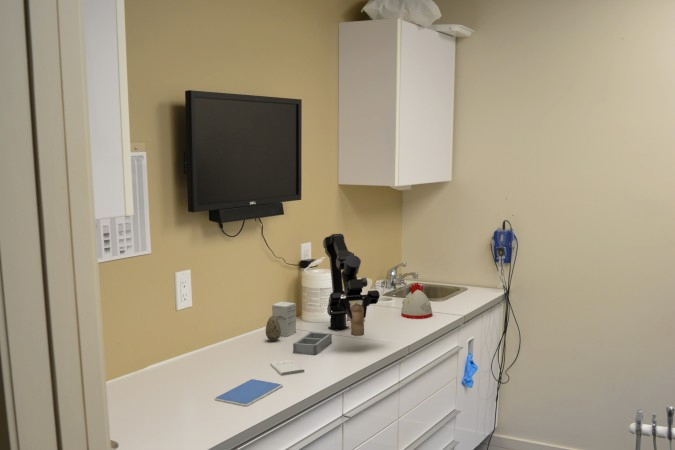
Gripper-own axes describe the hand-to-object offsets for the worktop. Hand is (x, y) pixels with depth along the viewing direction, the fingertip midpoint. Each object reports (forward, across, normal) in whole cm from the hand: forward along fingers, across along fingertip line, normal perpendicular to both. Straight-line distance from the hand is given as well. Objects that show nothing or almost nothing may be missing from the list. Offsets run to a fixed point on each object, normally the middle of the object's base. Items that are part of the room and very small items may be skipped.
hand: (358, 317), depth 241 cm
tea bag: (-22, +10, +41) cm, 48 cm away
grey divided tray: (+2, -15, +16) cm, 22 cm away
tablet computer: (+33, -43, -13) cm, 56 cm away
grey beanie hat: (-24, +40, +43) cm, 63 cm away
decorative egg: (-8, -29, +26) cm, 40 cm away
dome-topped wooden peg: (+4, 0, +6) cm, 7 cm away
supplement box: (-14, -23, +33) cm, 42 cm away
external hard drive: (+18, -29, +1) cm, 34 cm away
